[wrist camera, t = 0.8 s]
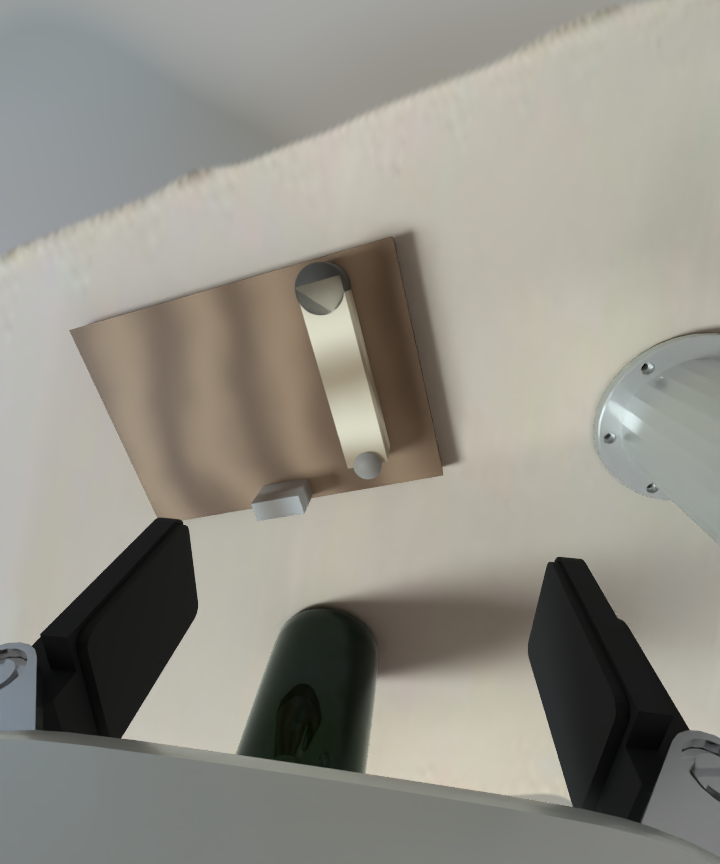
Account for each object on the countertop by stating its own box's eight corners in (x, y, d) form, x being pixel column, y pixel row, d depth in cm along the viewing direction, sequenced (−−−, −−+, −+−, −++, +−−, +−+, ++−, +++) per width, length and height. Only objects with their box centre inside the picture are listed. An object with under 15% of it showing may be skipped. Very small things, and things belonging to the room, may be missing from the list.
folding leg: (394, 456, 34) (392, 475, 31) (355, 463, 35) (349, 482, 32) (344, 256, 29) (335, 256, 26) (300, 269, 30) (286, 270, 27)
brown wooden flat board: (393, 237, 30) (389, 233, 26) (442, 467, 36) (445, 493, 32) (83, 327, 36) (38, 336, 31) (169, 515, 41) (141, 543, 37)
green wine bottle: (313, 691, 47) (125, 1462, 17) (260, 622, 45) (-78, 1391, 14) (398, 665, 45) (355, 1538, 14) (346, 589, 42) (155, 1466, 11)
